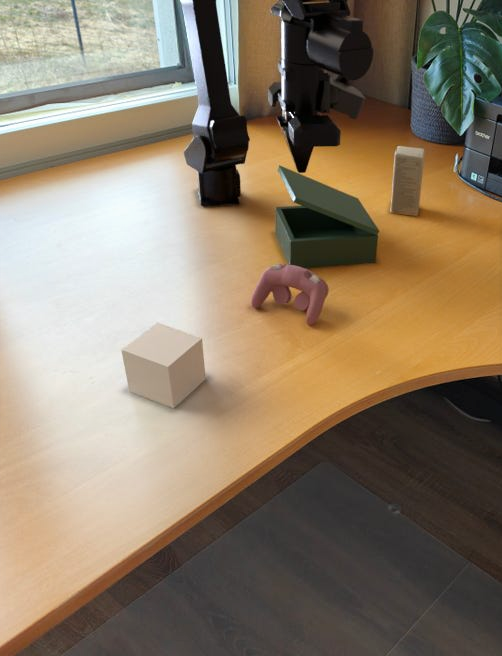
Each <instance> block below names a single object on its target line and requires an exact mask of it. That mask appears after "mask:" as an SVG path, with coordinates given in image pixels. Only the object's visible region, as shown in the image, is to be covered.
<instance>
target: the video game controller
mask: <svg viewBox="0 0 502 656" xmlns="http://www.w3.org/2000/svg"><path fill="white" fill-rule="evenodd" d="M290 288H292V289H296V290H298V291H300V292H299V293H297V294H296V295H295V297H294V299H293V305H294V307H295V308H296V309H297V310H299V311H306V314H305V315H306V316H305V320H306V321H305V322H306V324H307V325H308V326H312V325H314V324H315V323H316V322H317V320H318V319H319V316H320V315H321V312H322V310H323V307H324V305H325V300H326V298H327V297H328V295H329V291H330V289H329V285H328V283H327V282H326V281H325V279H324V278H322V277H319V276H318V275H317V274H316V273H315V272H313V271H311V270H309V269H305V268H302V267H299V266H294V265H288V264H282V263H277V264H274V265H270V266H268V267H267V268H266V269H265V270H264V271H263V273H262V274H261V276H260V278H259V280H258V282H257V284H256V286H255V288H254V291H253V292H252V295H251V300H250V304H251V307H252V308H253V309H258V308H259V307H261V306H262V305H263V304H264V302H266V300H267V299H268V297H269V295H270V294H271V293H272V297H273V299H274V302H275V303H277V304H279V305H285V304H288V303H290V302H291V300H292V291H291V289H290Z"/></svg>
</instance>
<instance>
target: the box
mask: <svg viewBox="0 0 502 656" xmlns="http://www.w3.org/2000/svg"><path fill="white" fill-rule="evenodd" d="M425 153H426V149H425V148H421V147H412V146H411V147H410V146H404V145H397V147H396V149H395V152H394V158H393V159H394V160H393V172H392V186H391V197H390V210H389V211H390V213H391V214H397V215H398V214H399V215H406V216H414V217H418V214H419V210H420V205H421V204H420V203H421V194H422V185H423V174H424V164H425Z"/></svg>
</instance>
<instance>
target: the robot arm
mask: <svg viewBox="0 0 502 656" xmlns="http://www.w3.org/2000/svg"><path fill="white" fill-rule="evenodd" d="M179 1H180V3H181V7H182V8H181V9H182V13H183V18H184V25H185V31H186V36H187V42H188V49H189V54H190V59H191V64H192V65H191V66H192V71H193V77H194V81H195V82H194V83H195V88H196V94H197V95H196V96H197V99H198V108H197V109H196V113H195V115H194V118H193V121H192V123H191V125H192V136H193V137H192V139H191V141H190V142H189V144H187V146H186V147H185V149H184V150H183V156H184V159H185V163H186V166H189V167H190V168H192V169H194V170H195V171H196V179H197V189H196V193H197V196H198V199H199V203H200V206H201V207H216V206H217V207H218V206H238V205H239V206H240V204H241V201H240V198H241V197H242V191H241V189H242V187H241V174H240V171H239V170H238V168H237V166H238V165H245V164H246V159H247V155H248V151H249V146H250V141H251V139H250V135H249V132H248V120H247V118H246V116H245V115H244V114H241V115H240V114H239V112H238V111H237V109H236V108H235V107H234V105H233V104H232V100H231V94H230V93H231V92H230V88H229V87H230V86H229V79H228V72H227V66H226V59H225V54H224V47H223V39H222V33H221V27H220V20H219V12H218V7H217V0H179ZM270 13H271V14H272V15H273V16H277V17H279V18H280V61H277V70H278V72H279V73H280V81H274V82H273V83H272V84H271V85H270V86H269V87H268V88H267V102H268V103H269V105H270V107H272V108H276V107H277V103H278V102H279V106H280V108H281V109H282V110H281V113H282V114H281V115H277V116H276V121H277V123H278V125H279V128H280V130H281V133H282V135H283V138H284V140H285V143H286V146H287V147H288V151H289V153H290V156H291V159H292V162H293V163H294V166H295V169H296V171H297V173H299V174H304V173H306V172H307V169H308V167H309V163H310V160H311V156H312V153H313V151H314V148H315V147H317V148H319V147H325V148H326V147H338V146H340V145H341V132H342V131H341V129H340V128H339V126H338V125H337V124H336V122H335V121H334V120H333V119H332V118H331V117H330V116H329V114H330V113H331V110H333V111H336V112H338V113H341V114H344V115H347V116H348V117H349V118H350V119H353V120H358V118H359V116H360V112H361V110H362V107H363V106H364V103H365V101H366V97H365V96H364V95H363V94H362V92H361V91H359V89H357V88H356V87H354V86H353V85H351V84H350V83H351V82H350V81H358V80H360V79H361V78H362V79H363V77H364V76H365V75H366V74H367V73H368V71H369V70H370V68H371V66H372V63H373V58H374V48H373V46H372V44H373V43H372V41H371V38H370V37H369V35H368V34H367V33H366V32H365V31H363V30H364V29H363V27H364V21H363V20H362V19H359V18H358V17H350V16H351V10H350V7H349V4H348V0H278V1H277V2H276V3H275V4H273V5H272V6H271V8H270ZM329 72H330V73H332V74H333V75H332V76H331V75H330V73H329Z"/></svg>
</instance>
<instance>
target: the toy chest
mask: <svg viewBox="0 0 502 656" xmlns="http://www.w3.org/2000/svg"><path fill="white" fill-rule="evenodd" d="M274 217H275V218H274V222H275V223H274V225H275V227H274V229H275V231H274V232H275V233H274V234H275V237H276V239H277V241H278V244H279V245H280V248H281V250H282V253H283V255H284V258H285V261H286V262H287V265H294V266H299V267H302V268H305V269H307V270H309V269H319V268H320V269H321V268H331V267H332V268H333V267H343V266H356V265H369V264H376V263H377V254H378V253H377V252H378V245H379V244H378V241H379V234H378V235H375V234H373V233H370V232H367V231H365V230H362V229H360V228H357V227H355V226H352V225H350V224H347V223H345V222H342V221H339V220H337V219H334V218H332V217H329V216H327V215H324V214H322V213H319V212H317V211H314V210H312V209H309V208H306V207H304V206H301V205H291V206H289V205H288V206H275V207H274Z"/></svg>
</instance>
